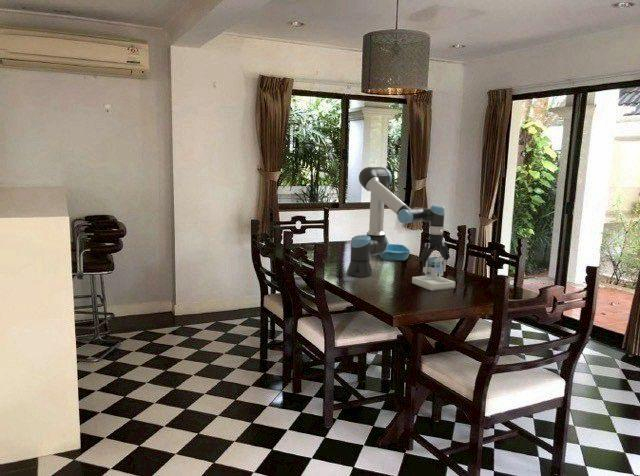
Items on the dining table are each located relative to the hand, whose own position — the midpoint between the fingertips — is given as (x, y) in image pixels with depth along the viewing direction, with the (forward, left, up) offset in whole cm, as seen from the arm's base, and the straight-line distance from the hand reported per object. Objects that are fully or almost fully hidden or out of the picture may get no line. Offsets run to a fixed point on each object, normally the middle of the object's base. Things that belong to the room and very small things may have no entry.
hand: (434, 271), depth 283 cm
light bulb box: (0, 0, -3) cm, 3 cm away
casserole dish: (+24, +78, -8) cm, 82 cm away
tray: (0, 0, -8) cm, 8 cm away
